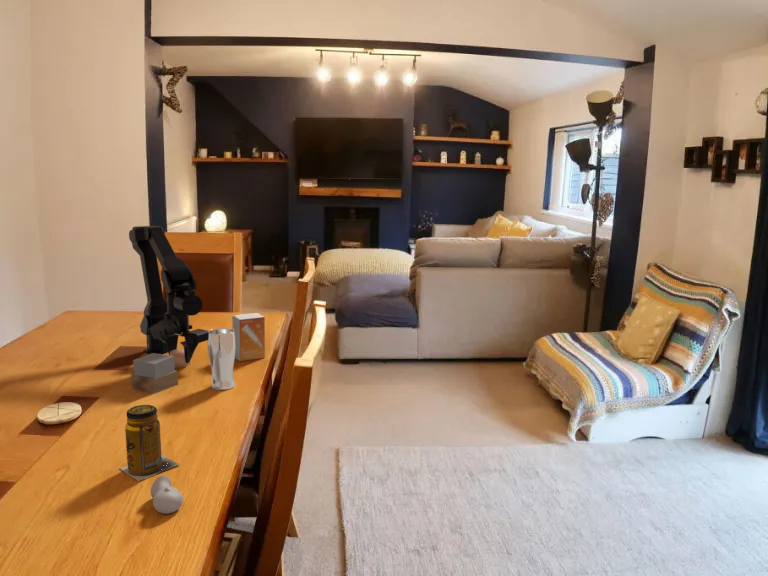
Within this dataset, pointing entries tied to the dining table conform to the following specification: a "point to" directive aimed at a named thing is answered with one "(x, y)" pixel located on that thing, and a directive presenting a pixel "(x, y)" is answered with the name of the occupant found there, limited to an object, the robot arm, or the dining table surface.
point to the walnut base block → (155, 382)
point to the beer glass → (222, 357)
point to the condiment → (144, 443)
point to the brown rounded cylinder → (179, 358)
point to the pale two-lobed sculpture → (165, 496)
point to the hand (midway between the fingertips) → (180, 361)
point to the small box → (249, 336)
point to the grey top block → (154, 365)
